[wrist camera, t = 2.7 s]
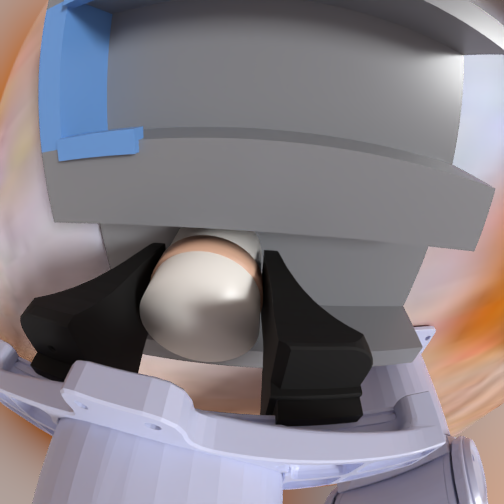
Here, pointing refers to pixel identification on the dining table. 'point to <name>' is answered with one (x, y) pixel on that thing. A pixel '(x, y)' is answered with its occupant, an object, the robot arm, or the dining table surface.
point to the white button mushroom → (206, 294)
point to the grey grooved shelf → (271, 138)
